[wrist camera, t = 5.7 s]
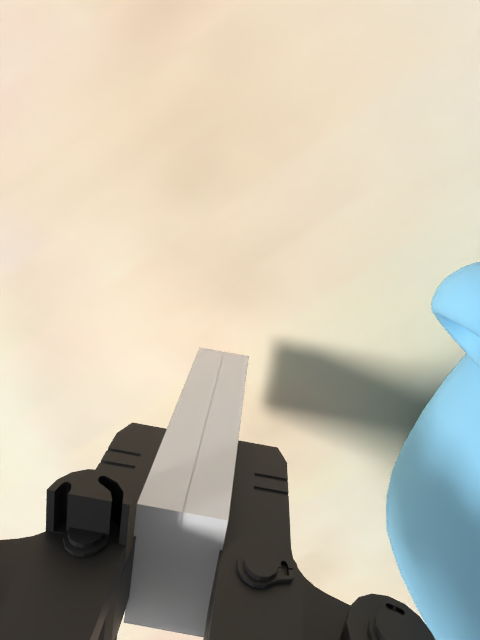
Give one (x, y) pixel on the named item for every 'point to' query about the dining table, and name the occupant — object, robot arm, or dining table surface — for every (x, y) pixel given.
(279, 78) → the dining table surface
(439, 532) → the decorative pot
